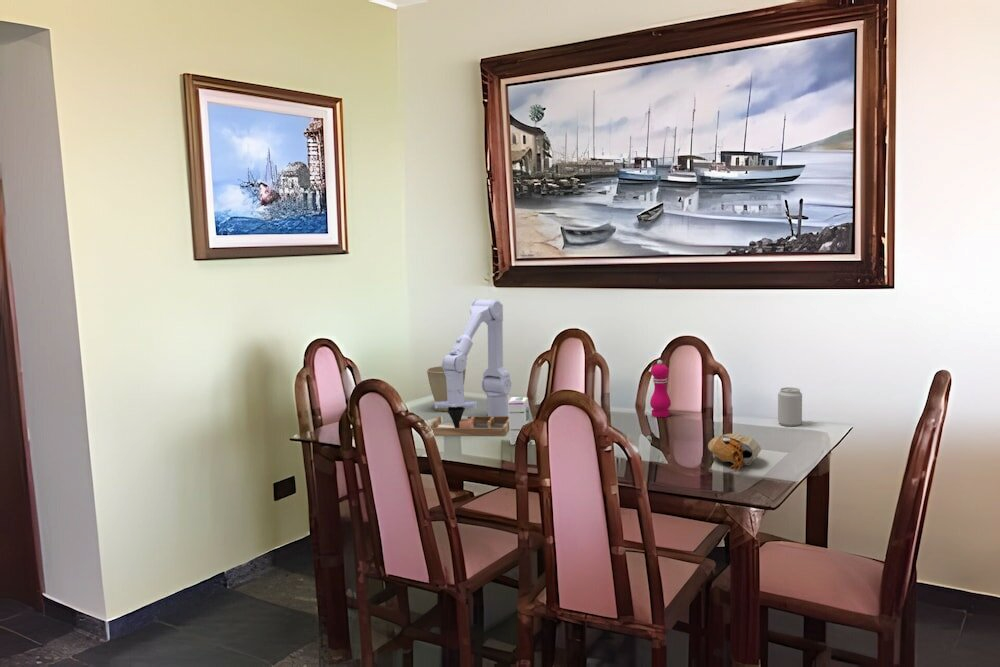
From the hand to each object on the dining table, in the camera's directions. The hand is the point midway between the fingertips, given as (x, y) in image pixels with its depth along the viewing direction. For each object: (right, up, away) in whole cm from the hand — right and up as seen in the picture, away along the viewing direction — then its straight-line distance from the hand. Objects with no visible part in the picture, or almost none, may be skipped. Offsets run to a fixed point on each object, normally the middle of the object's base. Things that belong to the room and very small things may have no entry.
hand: (457, 428), depth 274 cm
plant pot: (-5, +3, +36) cm, 37 cm away
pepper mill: (+72, +3, +12) cm, 73 cm away
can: (+111, +2, -7) cm, 111 cm away
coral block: (+3, -1, -1) cm, 3 cm away
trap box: (+5, -1, +3) cm, 6 cm away
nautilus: (+81, -5, -46) cm, 93 cm away
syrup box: (+21, -3, -14) cm, 26 cm away
